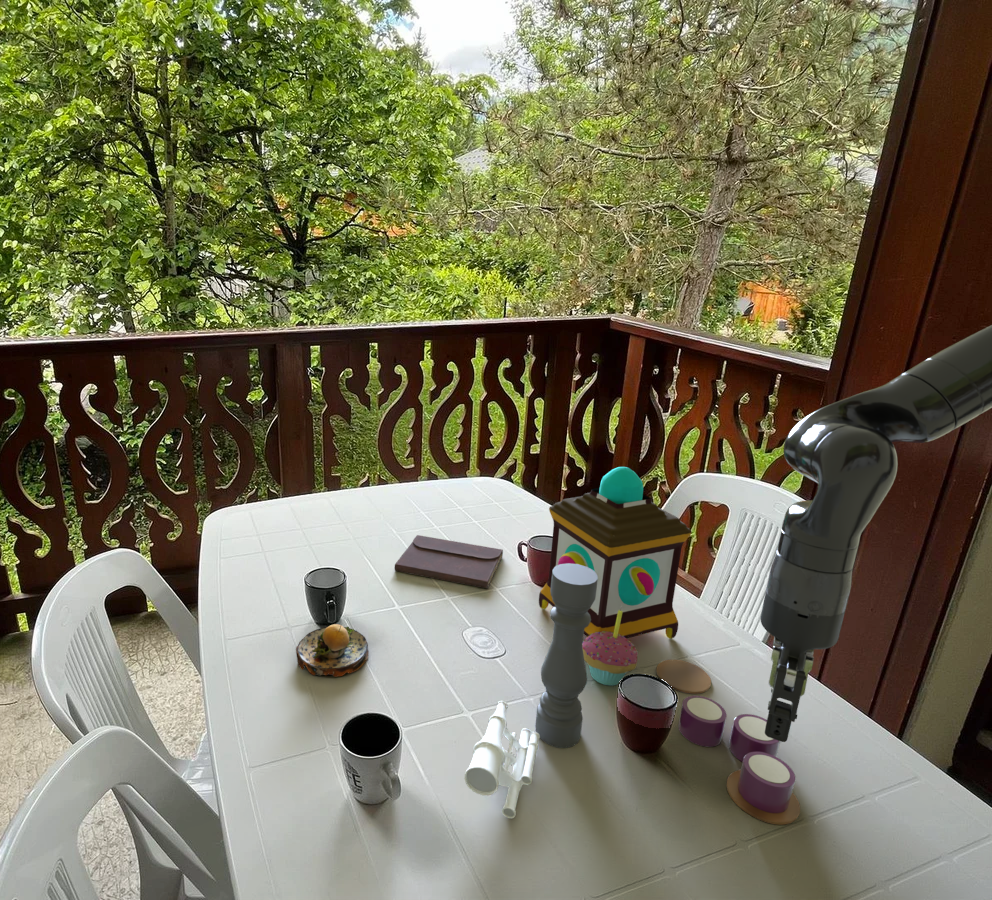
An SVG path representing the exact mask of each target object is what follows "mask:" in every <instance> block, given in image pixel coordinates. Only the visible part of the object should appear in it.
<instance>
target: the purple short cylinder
mask: <svg viewBox="0 0 992 900" xmlns="http://www.w3.org/2000/svg"><path fill="white" fill-rule="evenodd" d="M740 770H741V771H740V776H739V780H738V790H739V792H740V794H741V796H742V797H743V798H744V799H745V800H746V801H747V802H748V803H750V804H751V805H752V806H754V807H756V808H758V809H760V810H762V811H765V812H769V813H782V812H784V811H786V810H787V809H788V807H789V803H790V799H791V795H792V792H793V791H794V788H795V787H794V786H795V783H796V774H795V772H794V771H793V768H792V767H791V766H790V765H789V764H788V763H786V762H785V761H783V760H782V759H781V758H780V757H778V756H777V757H775V756H773V755H771V754H768V753H764V752H750V753H748V754H746V755H745V756H744V758H743V762H741V767H740Z"/></svg>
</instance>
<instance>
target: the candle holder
mask: <svg viewBox="0 0 992 900" xmlns="http://www.w3.org/2000/svg"><path fill="white" fill-rule="evenodd" d="M597 581H598V576H597V573H595V572H594V571H593V570H592V569H590V568H588V567H586V566H583V565H579V564H571V563H566V564H560V565H557V566H555V567H554V569H553V570H552V580H551V590H550V592H551V596H552V600H553V602H554V604H555V607H553V606H552V608H551V609H550V610H549V614H550V620H551V621H552V622H553V633H552V640H551V642H550V645H549V648H548V650H547V653H546V656H545V658H544V660H543V663H542V666H541V668H540V677H541V682H542V684H543V686H544V688H545V691H544V692H543V693H542V694H541V695H540V697H539V703H538V704H537V707H536V714H535V715H536V716H535V725H534V726H535V732H537V733H538V734H539V735H540V738H539V740H542V741H543V742H544V743H545V744H546V745H549V746H551V747H553V748H559V749H560V748H561V749H566V748H567V749H568V748H572V747H574V746H575V745H577V744H578V743H579V742H580V739H581V734H582V726H583V719H584V717H583V713H582V710H583V707H582V703H581V701H580V699H579V698H578V697H579V695H581V694H582V693H583V691H584V689H585V688H586V685H587V683H588V675H587V668H586V661H585V660H584V654H583V647H582V645H583V640H584V636H585V635H584V629H585V627H587V626H588V625H589V623H590V622H591V617H590V614H589V613H588V612H587V611H588V610H589V609H590V608H591V606H592V604H593V602H594V601H595V598H596V590H597Z"/></svg>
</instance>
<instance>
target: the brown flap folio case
mask: <svg viewBox="0 0 992 900" xmlns="http://www.w3.org/2000/svg"><path fill="white" fill-rule="evenodd" d="M503 553H504V550H503V549H501V548H495V547H489V546H484V545H478V544H473V543H466V542H462V541H455V540H449V539H443V538H438V537H431V536H427V535H420V534H417V535H416V536H415V537H414V538H413V540H412V542H411V543H410V544H409V546H407V548H406V549H405V551H404V552H403V553H402V554H401V556H400V557H399V558H398V559H397V561H396V562H395V564H394V571H395V572H399V573H404V574H408V575H409V574H410V575H415V576H419V577H420V576H421V577H425V578H432V579H435V580H441V581H445V582H450V583H456V584H462V585H465V586H472V587H475V588H476V587H477V588H482V589H487V590H488V589H489V587H490V584H491V582H492V580H493V578H494V577H495V574H496V572H497V570H498V567H499V566H500V564H501V561H502V559H503Z"/></svg>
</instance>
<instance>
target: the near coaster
mask: <svg viewBox="0 0 992 900" xmlns="http://www.w3.org/2000/svg"><path fill="white" fill-rule="evenodd" d="M740 771H741V769H738V770H735V771H733V772H731V773H730V774H729V775H728V776H727V779H726V791H727V793H728V795H729V797H730V799H731V800H732V801H733V803H735V804H736V806H737V807H738V808H739V809H741V810H742V811H743V812H745V813H746V814H747V815H749V816H751V817H753V818H755V819H757V820H758V821H761V822H764V823H767V824H772V825H779V826H781V825H782V826H783V825H789V824H792V823H794V822H796V821H797V820H798V819H799V817H800V813H801V805H800V802H799V799H798V798H797V796H796V795H795V793H794V792H793V791H792V795H791V799H790V803H789V807H788V809H787V810H786V811H784V812H782V813H769V812H765V811H762V810H760V809H758V808H756V807H754V806H752V805H751V804H750V803H748V802H747V801H746V800H745V799H744V798H743V797H742V796H741V794H740V792H739V790H738V780H739V776H740Z"/></svg>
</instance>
